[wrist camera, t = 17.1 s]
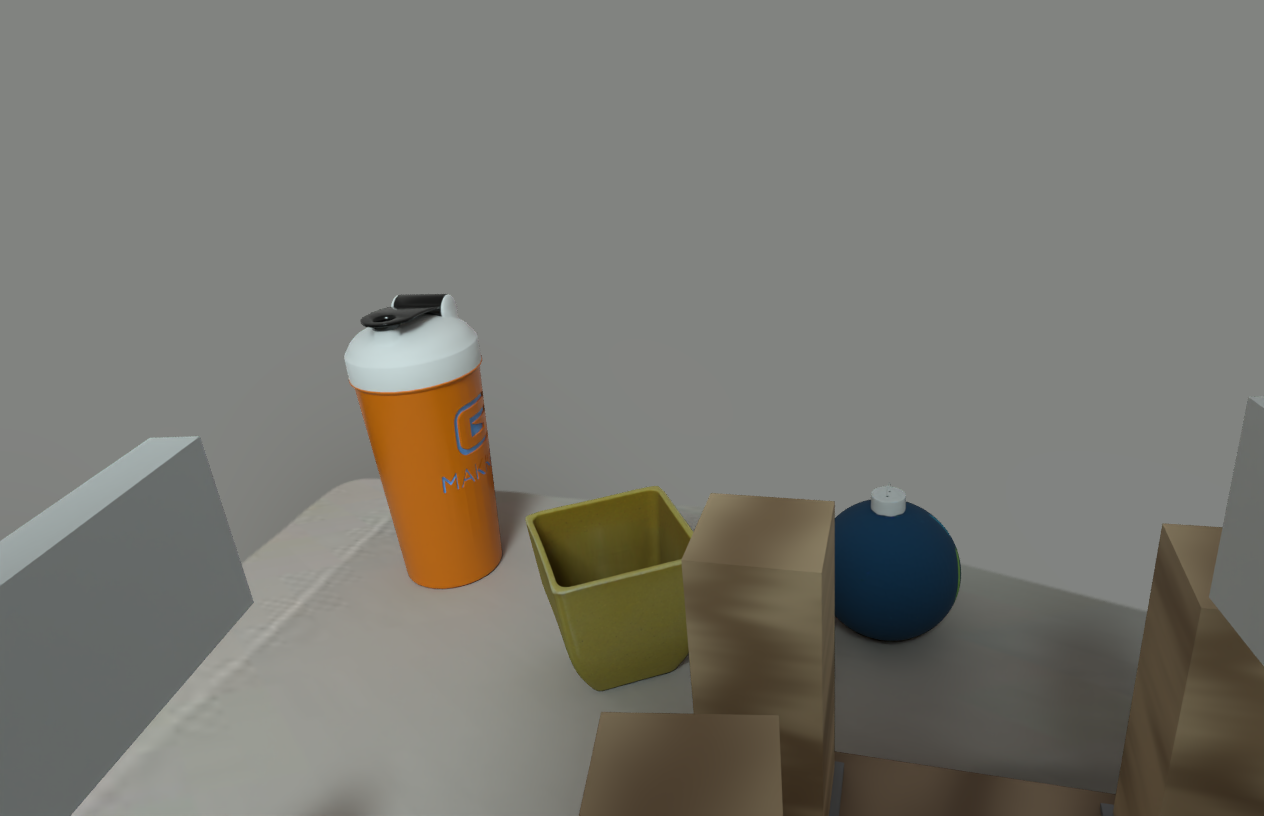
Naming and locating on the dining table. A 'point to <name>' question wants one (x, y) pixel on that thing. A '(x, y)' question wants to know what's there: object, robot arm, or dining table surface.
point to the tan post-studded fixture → (945, 798)
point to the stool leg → (684, 766)
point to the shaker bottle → (429, 436)
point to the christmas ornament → (893, 567)
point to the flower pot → (616, 583)
